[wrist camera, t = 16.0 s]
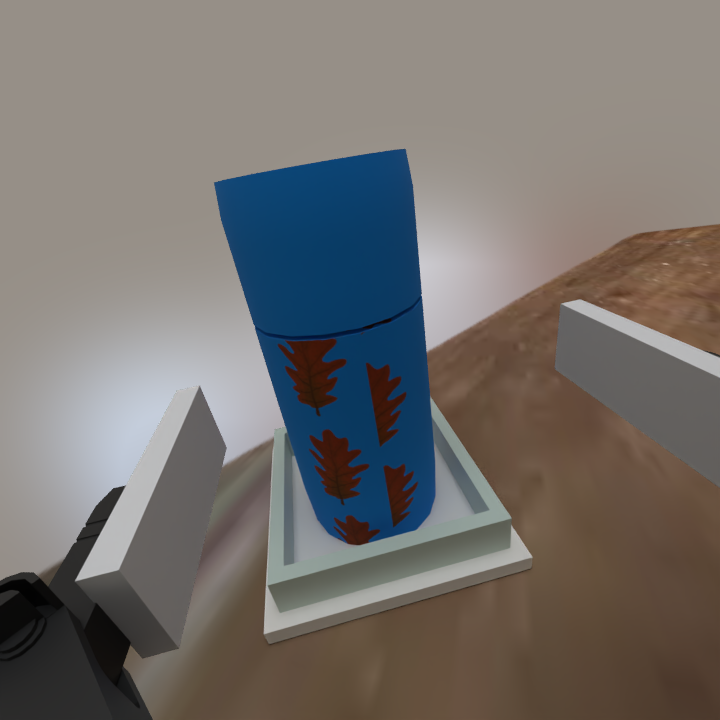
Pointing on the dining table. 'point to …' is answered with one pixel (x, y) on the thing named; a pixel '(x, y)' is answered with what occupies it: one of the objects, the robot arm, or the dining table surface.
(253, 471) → the dining table surface
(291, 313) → the leaf-print tea canister
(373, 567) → the holder
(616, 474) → the dining table surface
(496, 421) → the dining table surface
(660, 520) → the dining table surface
